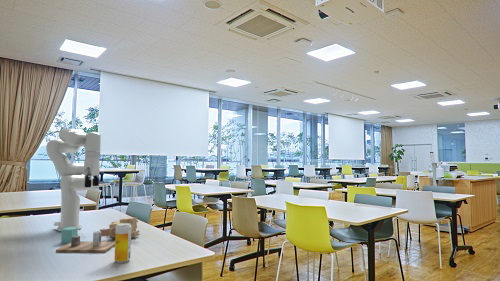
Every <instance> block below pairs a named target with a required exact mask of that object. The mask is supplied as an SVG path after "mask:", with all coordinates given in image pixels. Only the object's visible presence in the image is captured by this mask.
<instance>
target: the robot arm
mask: <svg viewBox="0 0 500 281" xmlns="http://www.w3.org/2000/svg"><path fill="white" fill-rule="evenodd" d="M58 138H59V139H58ZM58 138H56V139H51V140H49V141H47V143H46V154H47V156H48V158H49V160H50V161H51V162H52V163H53V165H54V166H55V170H56V171H57V173H58V174H57V175H58V176H59V177H60V178H61V179H60V181H59V184H60V185H59V187H60V191H61V192H60V193H61V194H60V195H61V201H60V202H61V203H60V221H55V222H54V224H53V226H55V227H56V226H57V228H56V230H57V231H59V232H62V229H64V228H67V227H78V230H80V229H82V225H80V210H81V209H80V205H81V204H80V203H81V200H80V198H81V197H80V196H79V195H78V193H77V192H81V191H82V192H83V191H89V190H91V189H92V188H93V187H98V186H99V185H100V173H101V172H100V158H101V143H102V142H101V139H102V135H101V134H100V133H99V132H87V133H86V132H85V131H84V130H83V129H78V128H77V129H76V128H63V129H61V130H59V132H58ZM81 147H84V161H83V163H82V162H71V160H70V158H69V157H68V156H67V155H65V154H75V153H77V152H78V151H79V150H80V149H81Z"/></svg>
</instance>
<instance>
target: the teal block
mask: <svg viewBox="0 0 500 281" xmlns="http://www.w3.org/2000/svg"><path fill="white" fill-rule="evenodd" d="M78 230H79V229H78V227H67V228H64V229H62V231H61V238H60V240H61V241H60V242H61V244H69V243H71V239H72V237H74V236H79V235H78V232H79V231H78Z"/></svg>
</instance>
